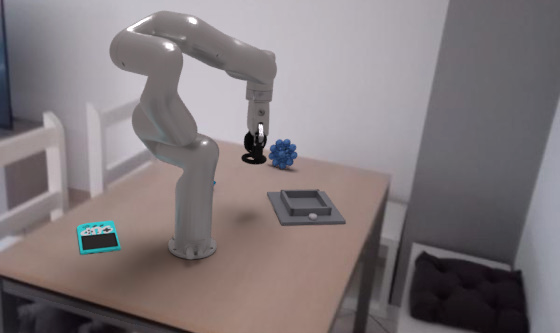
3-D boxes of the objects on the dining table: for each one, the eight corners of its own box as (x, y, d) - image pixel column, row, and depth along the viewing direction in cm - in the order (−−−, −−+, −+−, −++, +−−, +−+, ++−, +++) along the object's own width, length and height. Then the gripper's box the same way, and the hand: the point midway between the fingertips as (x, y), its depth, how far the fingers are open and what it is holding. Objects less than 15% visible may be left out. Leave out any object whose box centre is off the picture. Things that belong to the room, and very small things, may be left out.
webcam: (256, 154, 164) (259, 123, 161) (271, 162, 159) (275, 130, 156) (235, 158, 159) (238, 126, 156) (251, 166, 154) (253, 133, 151)
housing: (345, 223, 164) (346, 213, 163) (281, 225, 159) (282, 214, 158) (324, 193, 184) (325, 184, 183) (266, 194, 179) (267, 184, 178)
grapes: (300, 168, 204) (303, 138, 200) (292, 174, 198) (296, 143, 194) (272, 161, 209) (275, 132, 204) (264, 166, 203) (267, 136, 199)
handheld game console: (114, 223, 152) (114, 219, 152) (122, 251, 139) (121, 247, 138) (76, 227, 149) (76, 223, 148) (80, 257, 135) (80, 252, 135)
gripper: (278, 102, 145) (273, 164, 152) (265, 87, 161) (261, 144, 167) (251, 101, 144) (246, 164, 150) (241, 86, 159) (237, 143, 166)
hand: (254, 153), depth 159 cm, fingers closed on webcam, 6 cm apart
